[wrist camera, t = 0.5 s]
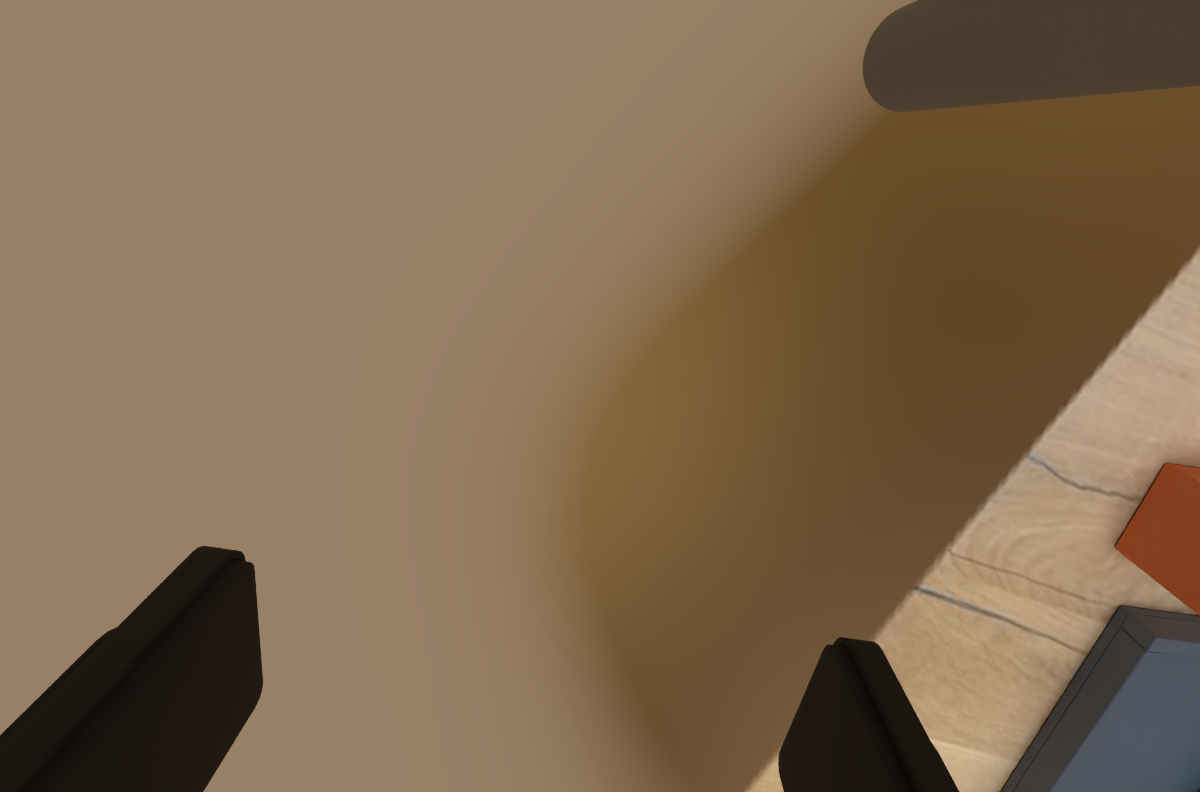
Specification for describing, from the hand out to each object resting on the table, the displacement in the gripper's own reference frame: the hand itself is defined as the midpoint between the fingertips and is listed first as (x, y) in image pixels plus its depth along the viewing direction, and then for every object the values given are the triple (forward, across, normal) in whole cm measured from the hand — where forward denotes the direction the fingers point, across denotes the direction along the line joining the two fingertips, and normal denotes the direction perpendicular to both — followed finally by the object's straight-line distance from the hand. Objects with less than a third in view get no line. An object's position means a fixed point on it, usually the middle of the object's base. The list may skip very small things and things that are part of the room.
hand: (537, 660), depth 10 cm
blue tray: (+15, -32, +16) cm, 39 cm away
